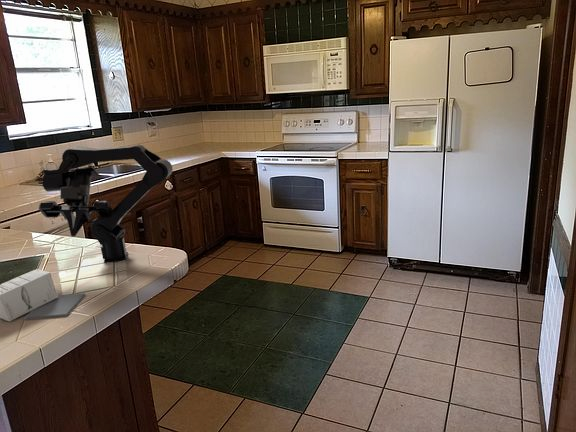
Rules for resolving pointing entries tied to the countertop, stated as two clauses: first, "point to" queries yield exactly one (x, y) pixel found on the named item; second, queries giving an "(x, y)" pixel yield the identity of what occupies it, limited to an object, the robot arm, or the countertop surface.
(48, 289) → the supplement box
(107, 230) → the robot arm
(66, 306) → the rubber mat
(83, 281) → the countertop surface
